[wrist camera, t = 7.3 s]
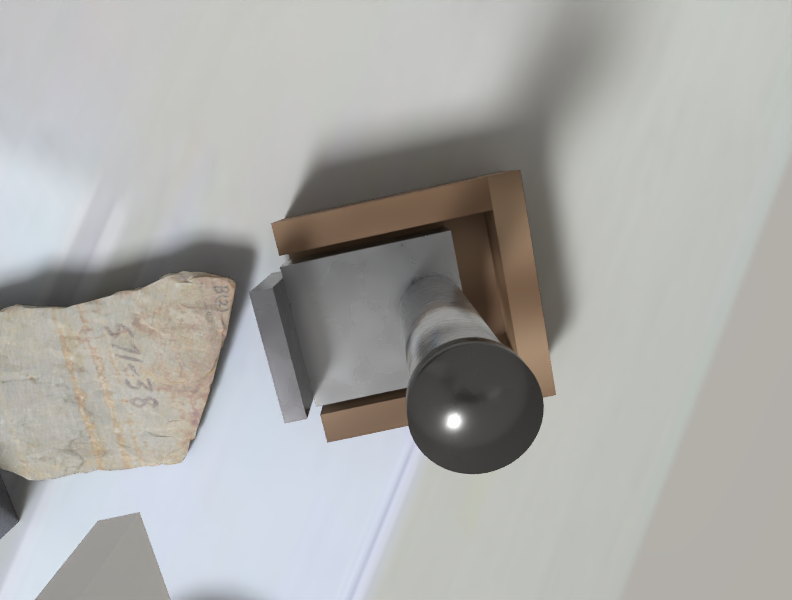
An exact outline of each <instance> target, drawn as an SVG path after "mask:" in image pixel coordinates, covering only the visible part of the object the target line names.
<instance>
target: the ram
mask: <svg viewBox="0 0 792 600" xmlns="http://www.w3.org/2000/svg"><path fill="white" fill-rule="evenodd" d="M280 269H281V272H276V273H272V274H271V275H269V276H268V277H267V278H266V279H265V280H263V281H262V282H261V283H260V284H259V285H258V286H256V287H255V288H254V289H253V290H252V291H250V292H249V294H250V298H251V301H252V305H253V309H254V312H255V316H256V320H257V323H258V327H259V331H260V334H261V338H262V342H263V345H264V349H265V353H266V356H267V360H268V364H269V367H270V371H271V375H272V378H273V382H274V386H275V389H276V393H277V396H278V400H279V404H280V407H281V411H282V415H283V418H284V422H285V423H289V422H294V421H299V420H303V419H307V417H308V414H309V411H310V407H311V404H312V401H313V398H314V400H315V404H316V407H317V406H322V405H326V404H331V403H336V402H341V401H345V400H350V399H355V398H360V397H365V396H369V395H374V394H379V393H384V392H388V391H393V390H398V389H403V388H407V391H406V411H407V419H408V426H409V429H410V433H411V435H412V437H413V439H414V441H415V443H416V445H417V446H418V448H419V449H420V450H421V451H422V452H423V454H424V455H425V456H426V457H428V458H429V459H430V460H431V461H433V462H434V463H436V464H437V465H439V466H441V467H443V468H445V469H448V470H450V471H453V472H458V473H464V474H481V473H488V472H491V471H495V470H498V469H500V468H503V467H505V466H507V465H509V464H510V463H512V462H513V461H515V460H516V459H518V458H519V457H520V456H521V455H522V454H523V453H524V452H525V451H526V450H527V449H528V448H529V447H530V445H531V444H532V442H533V441H534V439H535V438H536V436H537V434H538V432H539V429H540V426H541V423H542V418H543V408H544V405H543V396H542V392H541V388H540V386H539V383H538V381H537V379H536V377H535V376H534V374H533V373H532V371H531V370H530V369H529V367H528V366H527V365H526V364H525V362H524V361H523V360H522V359H521V358H520V357H519V356H518V355H517V354H516V353H515V352H514V351H513V350H511V349H510V348H509V347H507V346H505V345H503V344H502V343H500V341H499V340H498V339H497V337H496V336H495V335H494V333H493V332H492V331H491V329H490V328H489V327H488V325H487V324H486V323H485V321H484V320H483V319H482V317H481V316H480V315H479V313H478V312H477V311H476V309H475V308H474V307H473V305H472V304H471V303H470V301H469V300H468V299H467V297H466V296H465V295H464V293H463V292H462V287H461V282H460V277H459V271H458V266H457V261H456V256H455V250H454V245H453V240H452V234H451V230H449V229H448V228H446V227H445V226H443V227H439V228H434V229H429V230H425V231H420V232H415V233H411V234H406V235H401V236H397V237H392V238H387V239H383V240H378V241H373V242H369V243H364V244H359V245H355V246H350V247H345V248H341V249H336V250H331V251H327V252H322V253H317V254H313V255H308V256H303V257H299V258H294V259H289V260H288V261H287V262H285V263H284V264H283V265H282V266H281V267H280Z"/></svg>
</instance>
